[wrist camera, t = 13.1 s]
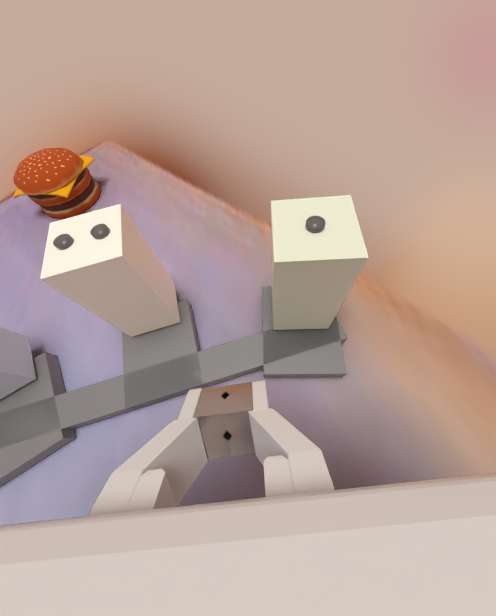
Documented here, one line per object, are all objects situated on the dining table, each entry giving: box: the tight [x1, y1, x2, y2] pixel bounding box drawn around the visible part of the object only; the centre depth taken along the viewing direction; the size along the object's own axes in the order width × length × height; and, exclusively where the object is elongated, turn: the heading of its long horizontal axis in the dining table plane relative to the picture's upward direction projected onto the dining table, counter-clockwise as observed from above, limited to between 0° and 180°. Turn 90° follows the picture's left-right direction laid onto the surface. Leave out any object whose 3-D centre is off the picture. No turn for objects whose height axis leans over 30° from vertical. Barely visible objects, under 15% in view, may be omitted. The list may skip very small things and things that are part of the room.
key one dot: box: [271, 195, 368, 330], centre depth 18 cm, size 5×5×10 cm
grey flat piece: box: [0, 286, 347, 487], centre depth 22 cm, size 12×36×2 cm, turn 106°
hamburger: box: [13, 148, 101, 219], centre depth 34 cm, size 9×10×7 cm
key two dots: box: [40, 204, 180, 337], centre depth 19 cm, size 5×5×10 cm
